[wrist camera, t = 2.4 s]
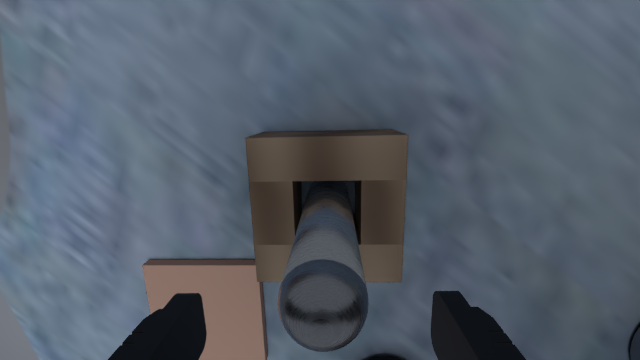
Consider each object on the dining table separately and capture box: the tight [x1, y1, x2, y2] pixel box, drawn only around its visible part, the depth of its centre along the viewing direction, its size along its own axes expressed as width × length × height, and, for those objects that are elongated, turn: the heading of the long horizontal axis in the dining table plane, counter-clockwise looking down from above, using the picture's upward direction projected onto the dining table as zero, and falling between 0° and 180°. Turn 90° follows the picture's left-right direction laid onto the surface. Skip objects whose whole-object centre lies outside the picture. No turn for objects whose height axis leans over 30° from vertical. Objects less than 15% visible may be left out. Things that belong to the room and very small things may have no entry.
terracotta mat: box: [142, 260, 268, 360], centre depth 27 cm, size 10×10×1 cm
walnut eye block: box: [245, 129, 408, 282], centre depth 22 cm, size 10×10×5 cm
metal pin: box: [278, 181, 368, 352], centre depth 17 cm, size 3×3×16 cm
